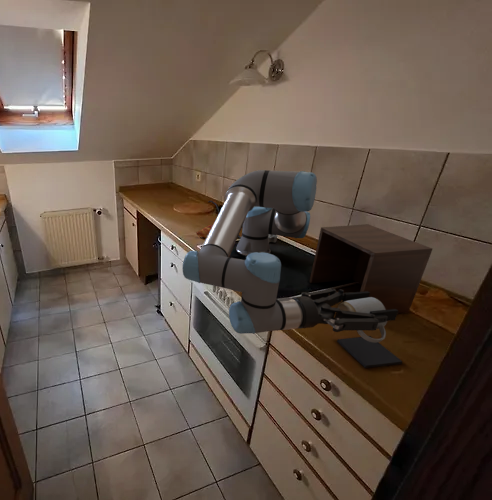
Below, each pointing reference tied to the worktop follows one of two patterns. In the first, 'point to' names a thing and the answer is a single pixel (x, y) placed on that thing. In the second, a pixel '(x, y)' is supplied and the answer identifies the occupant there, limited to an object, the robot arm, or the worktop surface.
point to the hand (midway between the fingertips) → (380, 305)
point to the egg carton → (272, 238)
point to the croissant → (204, 231)
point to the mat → (369, 352)
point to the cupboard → (371, 262)
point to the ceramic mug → (365, 307)
